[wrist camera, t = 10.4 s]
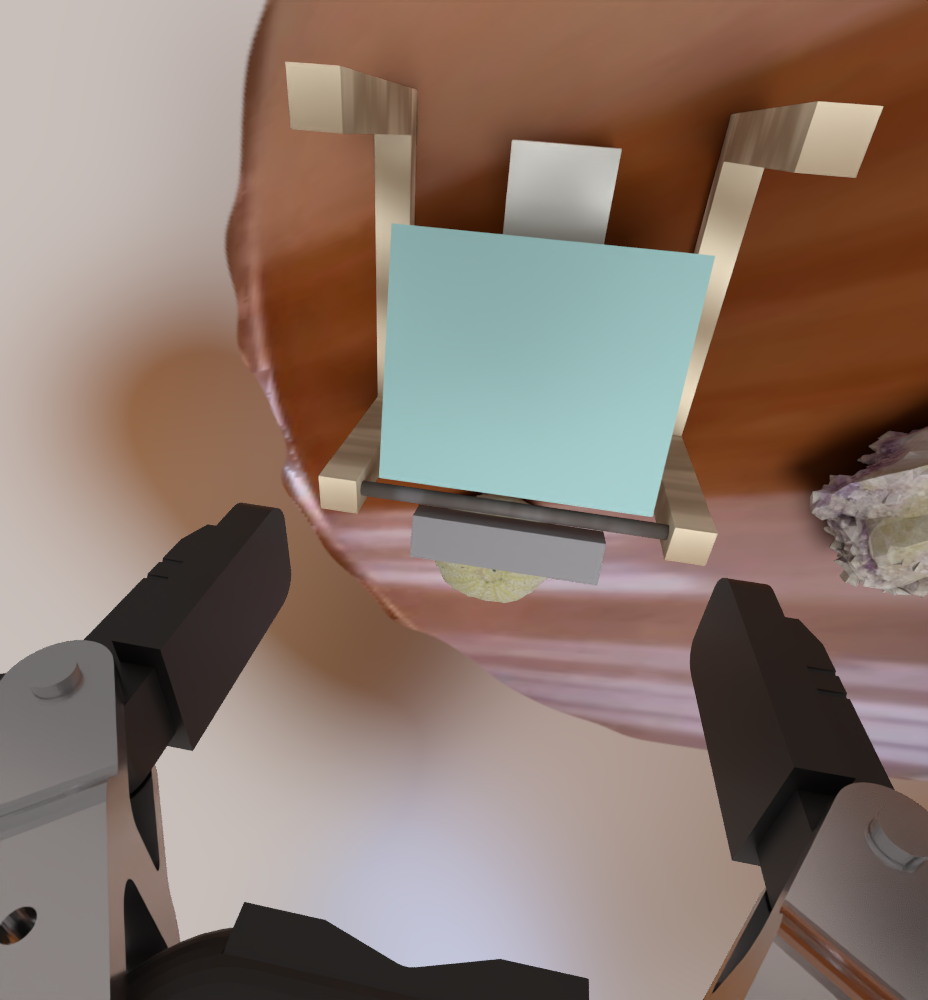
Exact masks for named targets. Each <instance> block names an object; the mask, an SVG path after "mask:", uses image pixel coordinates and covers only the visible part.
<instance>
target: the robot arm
mask: <svg viewBox="0 0 928 1000" xmlns="http://www.w3.org/2000/svg"><path fill="white" fill-rule="evenodd" d="M290 581H291V567H290V559H289V550H288V542H287V534H286V526H285V520H284V515H283V512H282V511H281V510H280V509H278V508H273V507H266V506H260V505H253V504H247V503H238V504H236V505H235V506H234V507H233V508H232V509H231V510H230V511H229V512H228V514H227V515H226V516H225V517H224V518H223V519H222V520H221V521H220V522H219V523H218V525H217V526H214V525H206V526H204V527H202V528H201V529H199V530H197V531H195V532H193V533H191V534H190V535H188V536H186V537H184V538H183V539H181V540H180V541H179V542H178V543H177V544H176V545H175V546H174V547H173V548H172V549H171V550H170V551H169V552H168V553H167V555H165V557H164V558H163V562H159V563H158V564H157V565H156V566H155V567H154V568H153V569H152V570H151V571H150V572H149V573H148V576H147V578H143V579H142V580H141V581H140V582H139V583H138V584H137V585H136V587H135V588H134V589H132V591H131V592H130V593H129V594H128V595H127V596H126V597H125V598H124V599H123V600H122V601H121V602H120V603H119V604H118V605H117V606H116V607H115V608H114V609H113V610H112V611H111V612H110V613H109V614H108V615H107V616H106V617H105V618H104V619H103V620H102V622H101V623H100V624H99V625H98V626H97V627H96V628H95V629H94V630H93V631H92V632H91V633H90V634H89V635H88V636H87V637H86V638H85V639H84V640H74V641H66V642H62V643H58V644H54V645H51V646H48V647H46V648H43V649H41V650H39V651H36V652H35V653H33V654H31V655H29V656H27V657H26V658H24V659H23V660H21V661H20V662H18V663H17V664H16V665H15V666H13V667H12V668H11V669H10V670H9V671H8V672H7V673H5V674H0V1000H589V979H587V978H583V977H578V976H574V975H570V974H564V973H561V972H556V971H552V970H547V969H543V968H538V967H533V966H529V965H525V964H520V963H516V962H511V961H506V960H502V959H496V960H486V961H477V962H467V963H456V964H446V965H436V966H426V967H416V968H415V967H414V968H413V967H410V968H409V967H405V966H402V965H400V964H397V963H396V962H394V961H392V960H390V959H389V958H387V957H386V956H384V955H382V954H381V953H379V952H377V951H376V950H374V949H372V948H371V947H369V946H367V945H366V944H364V943H362V942H361V941H359V940H357V939H356V938H354V937H352V936H351V935H349V934H348V933H346V932H344V931H343V930H341V929H339V928H337V927H336V926H334V925H333V924H331V923H329V922H328V921H326V920H323V919H318V918H314V917H308V916H305V915H300V914H296V913H291V912H287V911H282V910H278V909H273V908H269V907H264V906H260V905H255V904H251V903H246V902H244V904H243V906H242V909H241V911H240V913H239V916H238V918H237V920H236V923H235V925H234V927H233V928H227V929H221V930H217V931H213V932H209V933H204V934H201V935H198V936H195V937H193V938H190V939H187V940H185V941H182V942H180V937H179V930H178V925H177V920H176V915H175V911H174V907H173V903H172V899H171V895H170V890H169V885H168V877H167V867H166V857H165V847H164V838H163V827H162V816H161V806H160V796H159V786H158V775H157V770H156V766H155V763H156V762H157V760H158V759H159V757H160V756H161V754H162V753H163V751H164V750H165V748H166V747H167V746H171V747H176V748H181V749H186V750H191V751H193V750H194V748H195V746H196V745H197V743H198V741H199V740H200V738H201V737H202V735H203V733H204V732H205V730H206V729H207V727H208V725H209V724H210V722H211V720H212V719H213V717H214V715H215V714H216V712H217V711H218V709H219V707H220V706H221V704H222V703H223V701H224V699H225V697H226V696H227V694H228V693H229V691H230V690H231V688H232V686H233V685H234V683H235V682H236V680H237V678H238V677H239V675H240V673H241V672H242V670H243V668H244V667H245V665H246V664H247V662H248V660H249V659H250V657H251V656H252V654H253V652H254V651H255V649H256V647H257V646H258V644H259V642H260V641H261V639H262V638H263V636H264V634H265V633H266V631H267V630H268V628H269V626H270V624H271V623H272V622H273V620H274V618H275V617H276V615H277V613H278V612H279V610H280V608H281V607H282V605H283V603H284V602H285V599H286V597H287V594H288V591H289V587H290ZM690 671H691V677H692V681H693V686H694V690H695V695H696V699H697V704H698V708H699V713H700V717H701V722H702V726H703V731H704V736H705V740H706V745H707V749H708V754H709V758H710V763H711V767H712V772H713V776H714V781H715V785H716V790H717V794H718V799H719V804H720V808H721V813H722V817H723V822H724V826H725V831H726V835H727V840H728V844H729V849H730V853H731V858H732V860H733V861H738V862H743V863H748V864H753V865H758V866H761V870H762V874H763V878H764V881H765V885H766V887H765V888H764V890H763V891H762V892H761V894H760V895H759V897H758V899H757V901H756V902H755V904H754V906H753V908H752V910H751V912H750V913H749V916H748V917H747V919H746V921H745V923H744V925H743V927H742V928H741V930H740V932H739V934H738V936H737V938H736V939H735V941H734V943H733V945H732V947H731V949H730V950H729V952H728V954H727V956H726V958H725V960H724V962H723V964H722V965H721V967H720V969H719V971H718V973H717V975H716V977H715V978H714V980H713V982H712V984H711V986H710V987H709V989H708V991H707V993H706V995H705V997H704V999H703V1000H928V811H927V810H926V809H925V808H923V807H922V806H921V805H919V804H918V803H916V802H915V801H913V800H912V799H910V798H908V797H907V796H905V795H903V794H902V793H899V792H897V791H895V790H894V788H893V786H892V784H891V782H890V780H889V778H888V776H887V774H886V772H885V770H884V768H883V766H882V764H881V762H880V760H879V758H878V756H877V754H876V752H875V750H874V748H873V745H872V743H871V741H870V739H869V737H868V735H867V733H866V731H865V729H864V727H863V725H862V723H861V721H860V719H859V717H858V715H857V713H856V711H855V709H854V707H853V705H852V703H851V701H850V699H847V698H846V694H847V693H846V691H845V689H844V687H843V685H842V683H841V680H840V678H839V676H836V675H835V672H836V670H835V668H834V666H833V664H832V662H831V660H830V658H829V656H828V654H827V652H826V650H825V648H824V646H823V644H822V643H821V642H820V641H819V640H818V639H817V638H816V637H815V636H814V635H813V634H812V633H811V632H810V631H809V630H808V629H807V628H806V626H805V625H804V624H803V623H802V622H801V621H800V620H799V619H794V618H787V617H785V616H784V614H783V611H782V609H781V607H780V605H779V602H778V600H777V598H776V596H775V593H774V591H773V589H772V588H771V587H770V586H769V585H767V584H760V583H754V582H747V581H741V580H734V579H728V578H721V579H720V580H719V581H718V582H717V584H716V586H715V588H714V590H713V593H712V595H711V597H710V600H709V602H708V605H707V607H706V610H705V612H704V614H703V617H702V619H701V622H700V624H699V626H698V629H697V631H696V634H695V636H694V639H693V642H692V647H691V653H690Z"/></svg>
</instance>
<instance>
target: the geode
mask: <svg viewBox="0 0 928 1000" xmlns="http://www.w3.org/2000/svg"><path fill="white" fill-rule="evenodd" d="M878 439H879V440H878V441H876V442H875V443H873V444H871V445H870V446H869V447H870V448H871V449H872V450H873V451H874V452H875V453H872V454H870V455H863V456H862V457H861V458H860V459H858V460H857V461H860V462H862V463H863V464H864V463H865V464H867V465H870V466H866V469H864V470H860V471H858V472H857V473H856V474H855V475H853V476H847V475H830V482H829V484H828V485H823V487H822V490H818V491H813V492H812V494H811V496H810V511H811V513H812V514H813V515H815V516H816V517H818V518H819V519H821V520H825V519H828V520H827V524H828V525H829V526H827V527H825V528H824V530H825V531H826V532H828V533H830V534H832V535H834V539H835V540H834V541H833V542H832V543H831V544H830V547H829V548H831V549H833V550H834V551H836V552H838V555H837V557H840V558H838V559H836V560H834V561H835V562H836V563H837V564H838V565H840V566H841V567H842V568H843V569H844V571H843V572H842V574H841V575H840V577H841V578H842V580H843V581H844V582H845V583H850V584H852V585H853V586H855V587H857V586H858V584H859V582H860V581H861V583H862V585H863V586H866V587H872V588H878V589H881V590H882V592H883V593H885V592H888V593H890V594H892V595H894V596H896V594H900V595H912V594H910V593H913V594H915V595H918V596H920V597H923V596H925V595H926V594H928V426H927V427H925V428H923V429H918V430H912V431H911V432H910V433H909V434H908V433H901V432H894V431H888V432H887V433H885V434H884V435H882V436H881V437H879V438H878ZM825 526H826V525H825ZM909 592H910V593H909Z"/></svg>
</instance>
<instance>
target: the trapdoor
mask: <svg viewBox="0 0 928 1000" xmlns="http://www.w3.org/2000/svg"><path fill="white" fill-rule="evenodd" d="M714 259H715V256H712V255H702V254H692V253H682V252H672V251H662V250H652V249H642V248H632V247H622V246H612V245H602V244H593V243H583V242H573V241H563V240H553V239H543V238H533V237H523V236H513V235H503V234H493V233H483V232H473V231H463V230H453V229H443V228H433V227H423V226H414V225H404V224H394V223H392V225H391V245H390V265H389V285H388V306H387V326H386V346H385V366H384V386H383V407H382V427H381V447H380V467H379V478H385V479H392V480H399V481H406V482H413V483H420V484H427V485H434V486H441V487H448V488H455V489H462V490H469V491H475V492H482V493H489V494H496V495H503V496H510V497H517V498H524V499H531V500H538V501H545V502H552V503H559V504H566V505H573V506H580V507H587V508H594V509H601V510H608V511H614V512H621V513H628V514H635V515H642V516H649V517H653V513H654V509H655V505H656V500H657V496H658V492H659V488H660V484H661V480H662V475H663V471H664V467H665V463H666V459H667V455H668V450H669V446H670V442H671V438H672V434H673V430H674V425H675V421H676V417H677V413H678V409H679V405H680V400H681V396H682V392H683V388H684V384H685V380H686V376H687V371H688V367H689V363H690V359H691V355H692V351H693V346H694V342H695V338H696V334H697V330H698V326H699V321H700V317H701V313H702V309H703V305H704V301H705V296H706V292H707V288H708V284H709V280H710V276H711V271H712V267H713V263H714ZM605 546H606V542H605V537H604V533H603V531H596V530H589V529H582V528H575V527H569V526H562V525H555V524H548V523H542V522H535V521H528V520H521V519H514V518H508V517H501V516H494V515H487V514H480V513H474V512H467V511H460V510H453V509H447V508H440V507H433V506H426V505H419V506H418V508H417V510H416V511H415V513H414V515H413V523H412V536H411V550H410V556H411V557H418V558H424V559H431V560H437V561H443V562H450V563H456V564H463V565H469V566H475V567H482V568H488V569H495V570H501V571H507V572H514V573H520V574H527V575H533V576H539V577H546V578H552V579H559V580H565V581H571V582H578V583H584V584H591V585H597V584H598V580H599V575H600V570H601V565H602V561H603V556H604V551H605Z"/></svg>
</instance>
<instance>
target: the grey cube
mask: <svg viewBox="0 0 928 1000" xmlns="http://www.w3.org/2000/svg"><path fill="white" fill-rule="evenodd" d="M621 150H622V149H619V148H613V147H602V146H590V145H578V144H566V143H554V142H543V141H531V140H512V147H511V157H510V167H509V177H508V188H507V198H506V208H505V218H504V228H503V235H513V236H523V237H533V238H543V239H553V240H563V241H573V242H583V243H593V244H602V245H604V241H605V235H606V230H607V225H608V219H609V214H610V209H611V204H612V198H613V193H614V188H615V182H616V177H617V172H618V166H619V161H620V156H621Z"/></svg>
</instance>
